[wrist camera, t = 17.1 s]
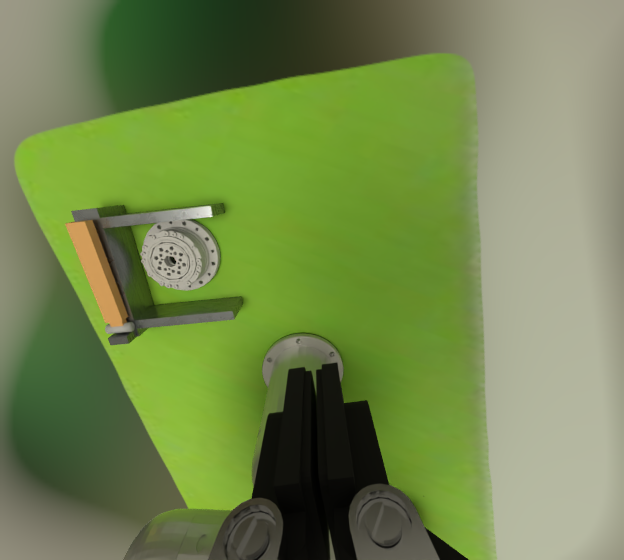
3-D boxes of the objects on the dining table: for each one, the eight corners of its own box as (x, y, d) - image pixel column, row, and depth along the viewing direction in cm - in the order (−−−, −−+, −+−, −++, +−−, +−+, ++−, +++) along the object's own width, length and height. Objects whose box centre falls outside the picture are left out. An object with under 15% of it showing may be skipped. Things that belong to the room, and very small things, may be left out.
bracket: (244, 310, 42) (232, 333, 36) (138, 321, 43) (108, 345, 37) (221, 194, 37) (202, 196, 31) (101, 207, 38) (58, 212, 31)
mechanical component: (146, 277, 41) (215, 293, 42) (127, 288, 37) (204, 306, 38) (151, 208, 38) (226, 227, 39) (131, 211, 34) (215, 232, 35)
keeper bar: (135, 328, 38) (130, 333, 36) (113, 330, 38) (107, 335, 37) (95, 219, 33) (88, 221, 31) (70, 222, 33) (61, 224, 32)
